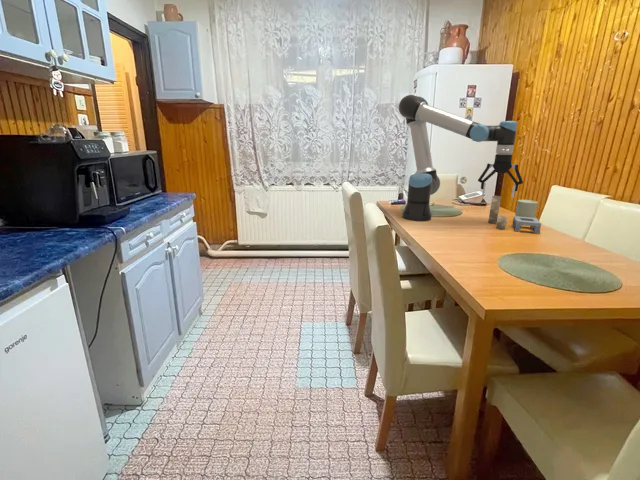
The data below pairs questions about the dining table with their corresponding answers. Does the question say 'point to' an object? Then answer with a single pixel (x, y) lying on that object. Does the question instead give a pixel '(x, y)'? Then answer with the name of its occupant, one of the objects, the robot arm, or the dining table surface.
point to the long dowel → (494, 209)
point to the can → (526, 208)
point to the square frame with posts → (526, 223)
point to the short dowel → (501, 222)
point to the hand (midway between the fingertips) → (497, 196)
